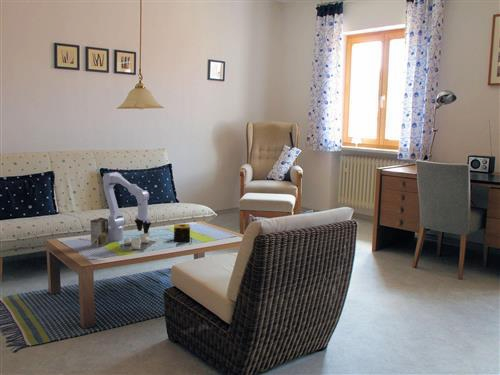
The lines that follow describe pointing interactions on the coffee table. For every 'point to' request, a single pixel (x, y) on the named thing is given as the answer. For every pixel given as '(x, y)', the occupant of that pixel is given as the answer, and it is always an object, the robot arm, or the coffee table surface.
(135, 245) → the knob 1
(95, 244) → the coffee box
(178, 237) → the candle
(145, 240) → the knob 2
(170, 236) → the coffee table surface
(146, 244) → the levelling base
